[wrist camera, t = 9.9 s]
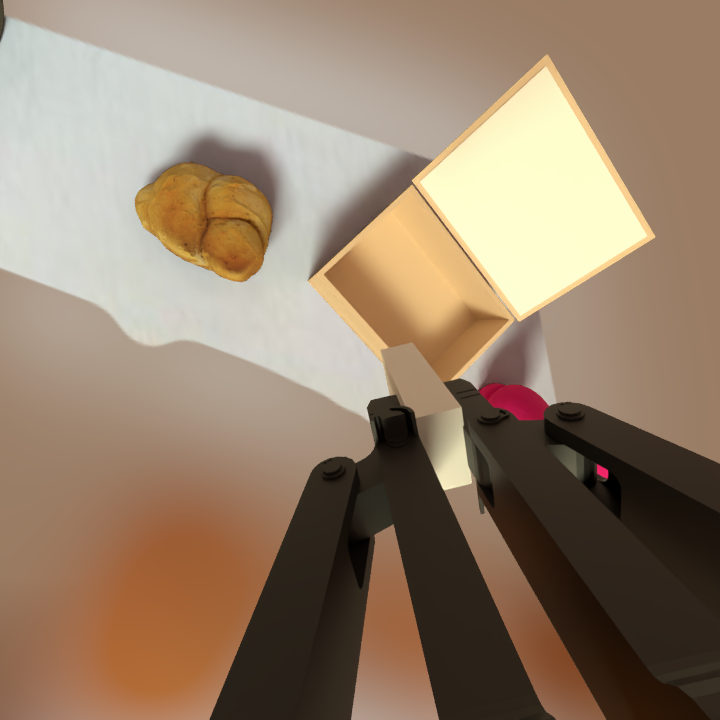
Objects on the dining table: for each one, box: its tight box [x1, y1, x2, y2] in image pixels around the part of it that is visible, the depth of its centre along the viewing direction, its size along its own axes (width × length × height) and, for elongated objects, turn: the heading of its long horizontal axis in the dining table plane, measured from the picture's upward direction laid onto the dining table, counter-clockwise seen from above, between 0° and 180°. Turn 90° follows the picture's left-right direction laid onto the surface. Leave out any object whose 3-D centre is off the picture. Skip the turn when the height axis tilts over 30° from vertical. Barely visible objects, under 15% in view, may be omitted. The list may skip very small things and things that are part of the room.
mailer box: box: [308, 185, 515, 382], centre depth 42 cm, size 18×13×7 cm
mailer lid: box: [412, 55, 655, 322], centre depth 36 cm, size 19×14×1 cm
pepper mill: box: [479, 383, 608, 478], centre depth 40 cm, size 7×7×20 cm
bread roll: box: [135, 161, 273, 282], centre depth 35 cm, size 13×10×8 cm
